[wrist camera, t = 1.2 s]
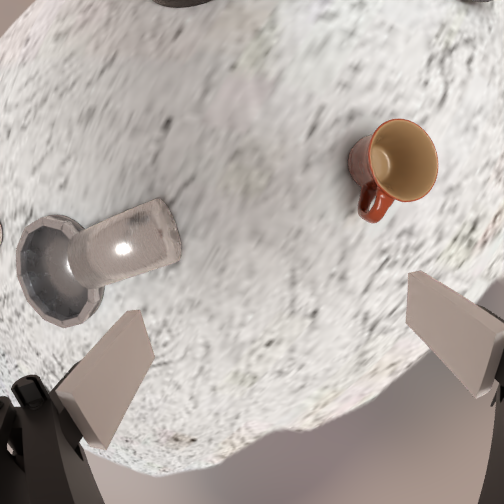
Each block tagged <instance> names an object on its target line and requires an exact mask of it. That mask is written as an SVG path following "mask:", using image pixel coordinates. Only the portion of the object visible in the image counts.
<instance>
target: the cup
mask: <svg viewBox="0 0 504 504" xmlns="http://www.w3.org/2000/svg"><path fill="white" fill-rule="evenodd" d="M2 238H3V232H2V226H1V223H0V245H1V242H2Z"/></svg>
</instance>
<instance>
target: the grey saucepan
mask: <svg viewBox="0 0 504 504" xmlns="http://www.w3.org/2000/svg"><path fill="white" fill-rule="evenodd" d="M16 249H17V250H16V266H17V275H18V276H17V277H18V280H19V282H20V285H21V287H22V290H23V292H24V295H25V297H26V300H27V301H28V302H29V304H30V305H31V306H32V307H33V308H34V309H35V311H36V312H37V313H38V314H39V315H40V316H41V317H42V318H43V319H44V320H46V321H48V322H50V323H53V324H55V325H57V326H60V327H62V328H67V327H71V326H74V325H78V324H82V323H83V322H85V321H86V320H87V319H88V318H89V317H90V316H92V315H93V314H94V313H95V312H96V310H97V309H98V307H99V306H100V304H101V301H102V298H103V294H104V288H105V286H106V285H109V284H112V283H115V282H118V281H121V280H124V279H127V278H130V277H133V276H136V275H139V274H142V273H145V272H148V271H151V270H155V269H158V268H161V267H164V266H167V265H170V264H173V263H176V262H178V261H179V260H180V258H181V241H180V236H179V232H178V229H177V226H176V223H175V220H174V218H173V216H172V214H171V212H170V210H169V208H168V207H167V205H166V204H165V203H164V202H163V201H162V200H161V199H159V198H157V199H154V200H151V201H149V202H147V203H144V204H142V205H139V206H137V207H134V208H132V209H130V210H127V211H125V212H122V213H120V214H118V215H115V216H113V217H111V218H109V219H106V220H104V221H102V222H100V223H97V224H95V225H93V226H91V227H89V228H87V229H84V228H83V227H82V226H81V225H80V224H79V223H77V222H76V221H74V220H73V219H71V218H69V217H66V216H63V215H50V216H46V217H41V218H40V219H38V220H37V221H35V222H33V223H32V224H30V225H28V226H27V227H25V229H24V231H23V233H22V236H21V238H20V241H19V243H18V246H17V248H16Z"/></svg>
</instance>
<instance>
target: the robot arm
mask: <svg viewBox="0 0 504 504" xmlns="http://www.w3.org/2000/svg"><path fill="white" fill-rule="evenodd" d="M153 1H154V2H156V3H158V4H160V5H164V6H168V7H188V6H194V5H198V4H202V3H205V2H208V1H211V0H153ZM406 324H407V325H408V326H409V327H410V328H411V329H412V330H413V331H414V332H415V333H416V334H417V335H418V336H419V337H420V338H421V339H422V340H423V341H424V342H425V344H426V345H427V346H428V347H429V348H430V349H431V350H432V351H433V352H434V353H435V354H436V355H437V356H438V357H439V358H440V360H441V361H442V362H443V363H444V364H445V365H446V366H447V367H448V368H449V369H450V370H451V372H453V374H454V375H455V376H456V377H457V378H458V379H459V380H460V382H461V383H462V384H463V385H464V386H465V387H466V388H467V389H468V391H469V392H470V393H471V394H472V395H473V396H474V398H475V399H477V398H479V397H481V396H482V395H484V394H486V393H488V392H490V389H491V387H492V384H493V382H494V379H496V380H497V381H498V382H499V386H498V388H497V391H496V393H495V396H494V398H493V401H492V403H491V406H493V405H494V403H495V402H496V410H495V421H494V429H493V438H492V444H491V450H490V456H489V461H488V466H487V471H486V475H485V479H484V483H483V487H482V491H481V494H480V498H479V502H478V504H504V320H503V319H501V318H500V317H497V315H495V314H494V313H492V312H491V311H489V310H488V309H486V308H485V307H482V306H479V305H476V304H474V303H473V302H471V301H470V300H468V299H466V298H465V297H463V296H462V295H460V294H459V293H457V292H455V291H454V290H452V289H451V288H449V287H447V286H446V285H444V284H442V283H441V282H439V281H437V280H436V279H434V278H432V277H431V276H429V275H427V274H426V273H424V272H422V271H416V272H411V273H408V294H407V311H406ZM154 359H155V355H154V352H153V349H152V346H151V343H150V340H149V337H148V334H147V331H146V328H145V324H144V321H143V318H142V314H141V311H140V310H132V311H126V312H125V314H124V315H123V316H122V317H121V318H120V319H119V320H118V321H117V322H116V323H115V324H114V325H113V326H112V327H111V328H110V329H109V331H108V332H107V333H106V334H105V335H104V336H103V337H102V338H101V339H100V340H99V341H98V343H97V344H96V345H95V346H94V347H93V348H92V349H91V350H90V351H89V352H88V354H87V355H86V356H85V357H84V358H83V359H82V360H80V361H79V362H77V363H76V364H74V366H73V367H72V368H71V369H70V370H69V371H68V372H69V373H66V375H65V376H64V378H62V379H61V380H60V381H59V382H58V384H57V385H56V386H55V387H54V388H53V389H52V391H51V392H50V393H49V394H48V392H47V390H46V389H45V387H44V385H43V383H42V381H41V379H40V377H39V376H37V375H28V376H24V377H22V378H20V379H19V380H17V381H16V382H15V383H14V384H13V385H12V388H11V390H12V392H13V394H14V395H15V397H16V399H17V401H18V402H19V404H20V406H21V407H14V406H13V404H12V403H11V401H10V399H9V398H8V397H6V396H1V397H0V504H105V503H104V501H103V498H102V496H101V494H100V492H99V489H98V487H97V484H96V482H95V480H94V477H93V474H92V472H91V469H90V466H89V464H88V461H87V458H86V455H85V452H84V449H83V448H82V446H81V445H80V443H79V442H80V440H81V439H82V437H84V439H85V440H86V442H87V443H88V444H89V446H90V447H93V448H98V449H103V450H107V448H108V446H109V444H110V442H111V440H112V438H113V436H114V434H115V432H116V430H117V428H118V426H119V425H120V423H121V421H122V419H123V417H124V415H125V413H126V411H127V409H128V407H129V405H130V403H131V401H132V400H133V398H134V396H135V394H136V392H137V390H138V388H139V386H140V384H141V383H142V381H143V379H144V377H145V375H146V373H147V371H148V370H149V368H150V366H151V364H152V362H153V360H154ZM7 443H8V444H9V445H10V447H11V448H12V449H13V454H10V452H9V451H8V450H7Z"/></svg>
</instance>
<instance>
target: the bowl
mask: <svg viewBox="0 0 504 504" xmlns="http://www.w3.org/2000/svg"><path fill="white" fill-rule="evenodd" d="M473 1H477V2H489V1H492V0H473Z"/></svg>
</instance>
